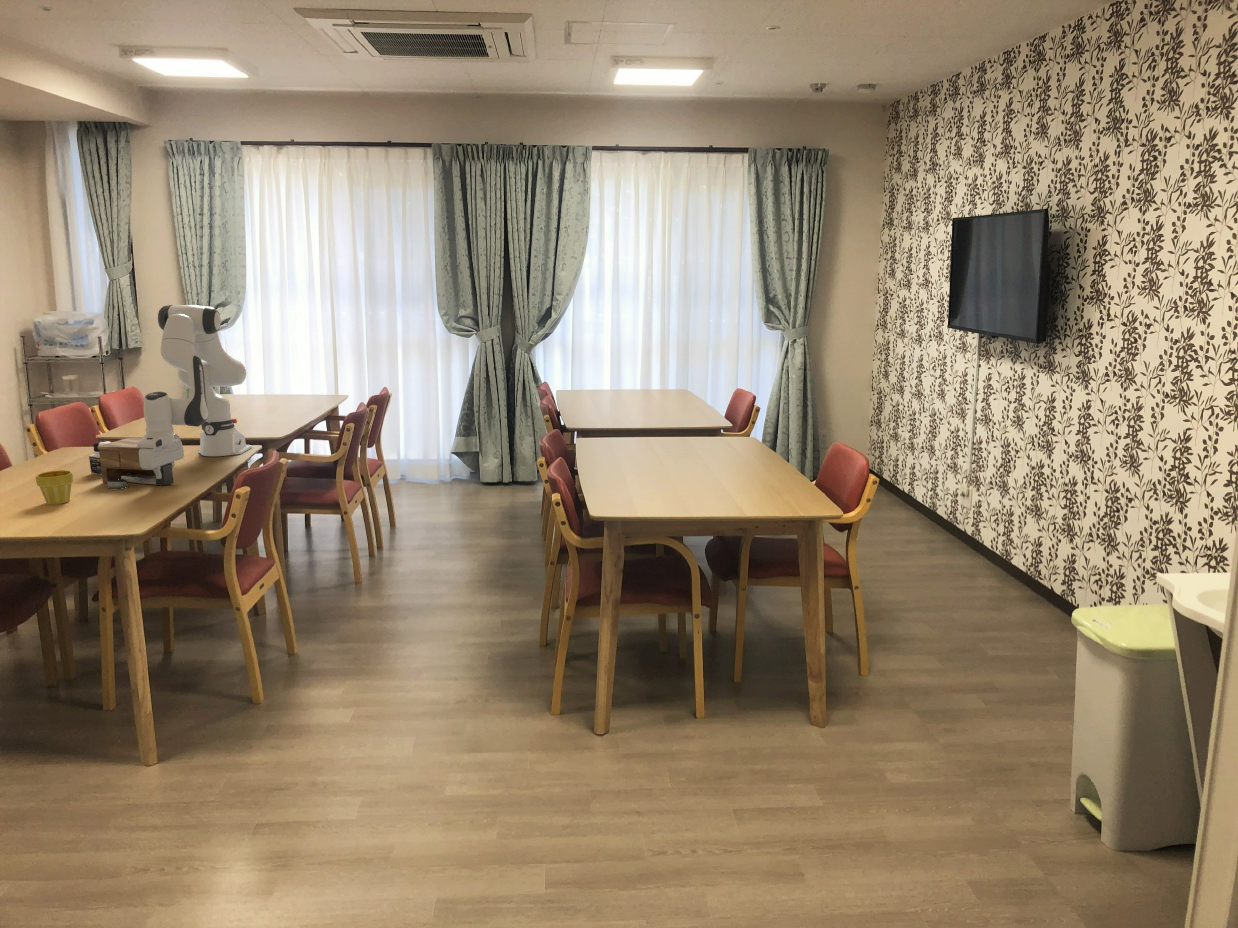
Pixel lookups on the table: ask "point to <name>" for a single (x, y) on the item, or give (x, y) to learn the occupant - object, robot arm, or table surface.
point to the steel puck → (117, 484)
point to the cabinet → (120, 459)
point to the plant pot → (55, 486)
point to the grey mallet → (152, 477)
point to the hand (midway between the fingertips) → (164, 476)
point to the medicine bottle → (96, 458)
